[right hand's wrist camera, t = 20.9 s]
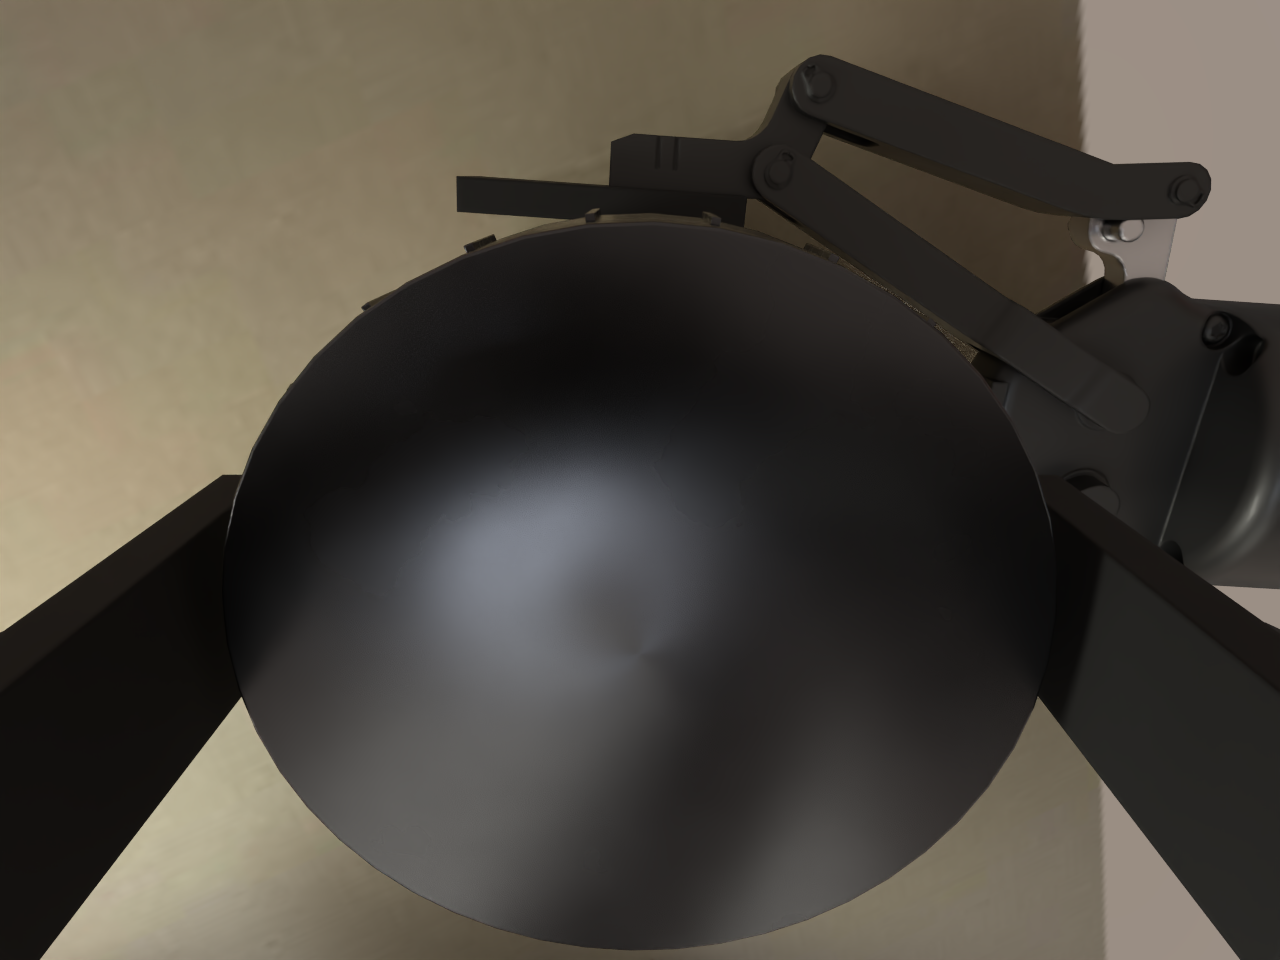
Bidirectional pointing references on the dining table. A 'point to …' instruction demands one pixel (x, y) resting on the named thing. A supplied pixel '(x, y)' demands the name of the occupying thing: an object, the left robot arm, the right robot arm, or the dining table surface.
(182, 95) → the dining table surface
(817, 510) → the lid
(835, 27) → the dining table surface
